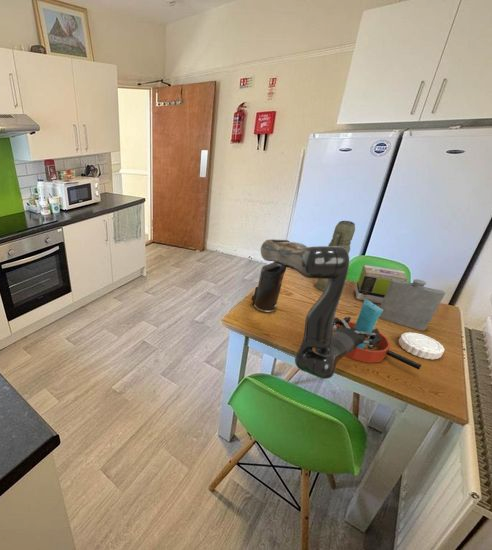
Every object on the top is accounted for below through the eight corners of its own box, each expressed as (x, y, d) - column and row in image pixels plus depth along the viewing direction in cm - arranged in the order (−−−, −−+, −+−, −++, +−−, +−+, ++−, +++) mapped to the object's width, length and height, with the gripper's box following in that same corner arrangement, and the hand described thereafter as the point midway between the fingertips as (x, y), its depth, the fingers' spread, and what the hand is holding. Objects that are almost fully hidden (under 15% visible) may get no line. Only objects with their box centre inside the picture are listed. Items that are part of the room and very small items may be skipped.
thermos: (340, 287, 151) (363, 221, 135) (330, 295, 145) (353, 227, 129) (321, 281, 157) (341, 217, 141) (311, 288, 151) (331, 222, 135)
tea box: (392, 297, 142) (404, 269, 135) (395, 307, 134) (409, 279, 127) (354, 289, 149) (364, 263, 142) (355, 299, 141) (366, 271, 134)
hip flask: (425, 327, 121) (448, 285, 112) (424, 332, 119) (448, 289, 109) (377, 312, 131) (394, 273, 122) (375, 316, 129) (393, 276, 119)
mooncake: (398, 334, 118) (401, 327, 116) (439, 346, 111) (443, 339, 110) (397, 350, 110) (401, 343, 108) (442, 365, 103) (447, 357, 102)
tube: (369, 351, 110) (389, 308, 101) (359, 353, 109) (378, 310, 100) (352, 338, 117) (369, 297, 108) (342, 341, 116) (358, 299, 107)
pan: (320, 342, 115) (324, 332, 113) (341, 326, 123) (345, 316, 121) (406, 386, 95) (412, 375, 93) (424, 364, 104) (430, 353, 101)
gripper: (369, 345, 91) (390, 326, 99) (321, 322, 102) (343, 307, 110) (361, 363, 95) (382, 343, 102) (315, 339, 105) (337, 323, 113)
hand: (362, 324), depth 106 cm, fingers open, 8 cm apart
